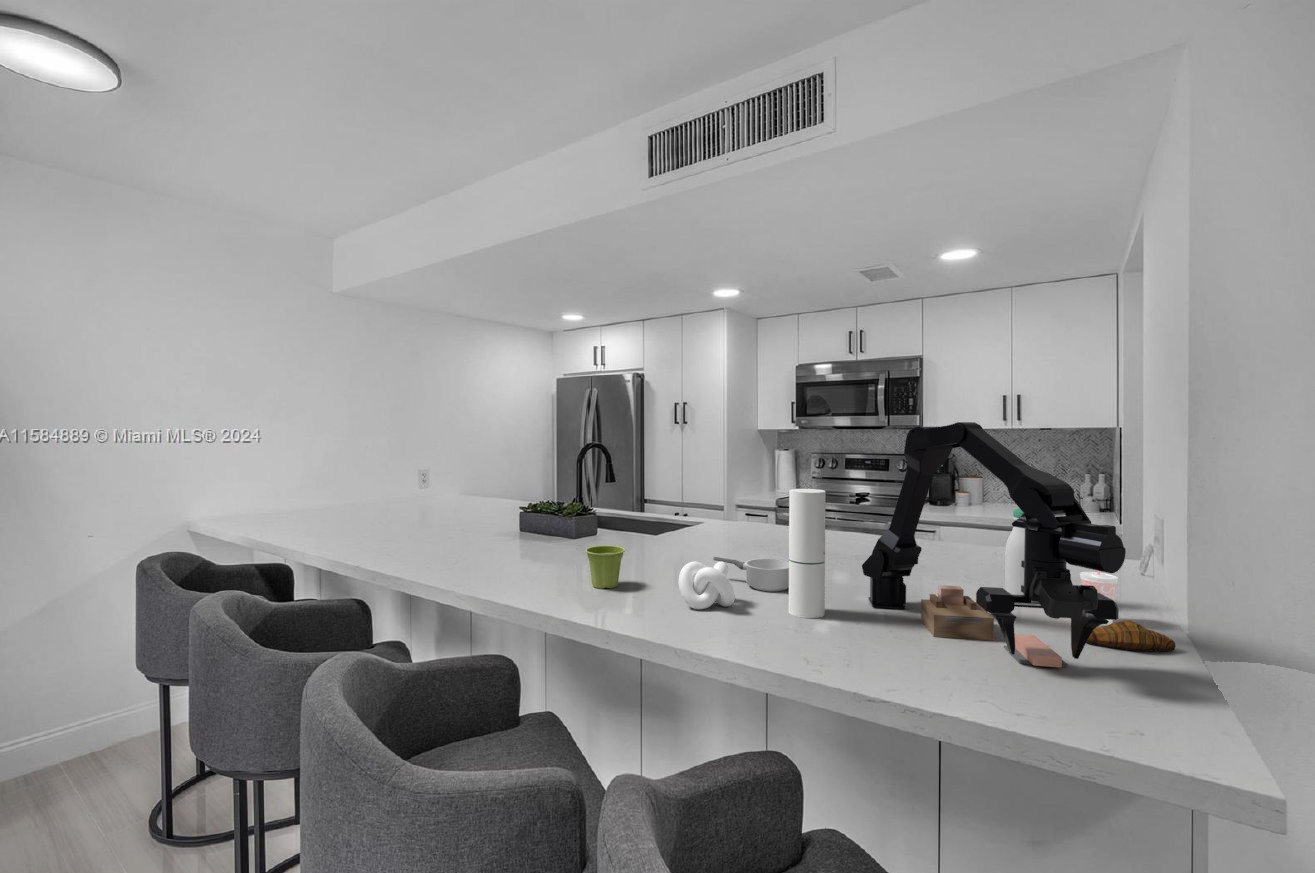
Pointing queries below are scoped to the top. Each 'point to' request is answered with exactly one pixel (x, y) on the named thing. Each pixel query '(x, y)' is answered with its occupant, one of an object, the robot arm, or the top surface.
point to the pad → (1022, 659)
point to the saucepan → (764, 573)
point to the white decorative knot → (705, 585)
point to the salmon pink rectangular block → (1037, 651)
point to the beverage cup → (1101, 584)
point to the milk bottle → (1015, 558)
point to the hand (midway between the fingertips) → (1043, 655)
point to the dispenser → (956, 615)
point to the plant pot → (605, 565)
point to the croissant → (1130, 637)
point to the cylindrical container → (807, 553)
